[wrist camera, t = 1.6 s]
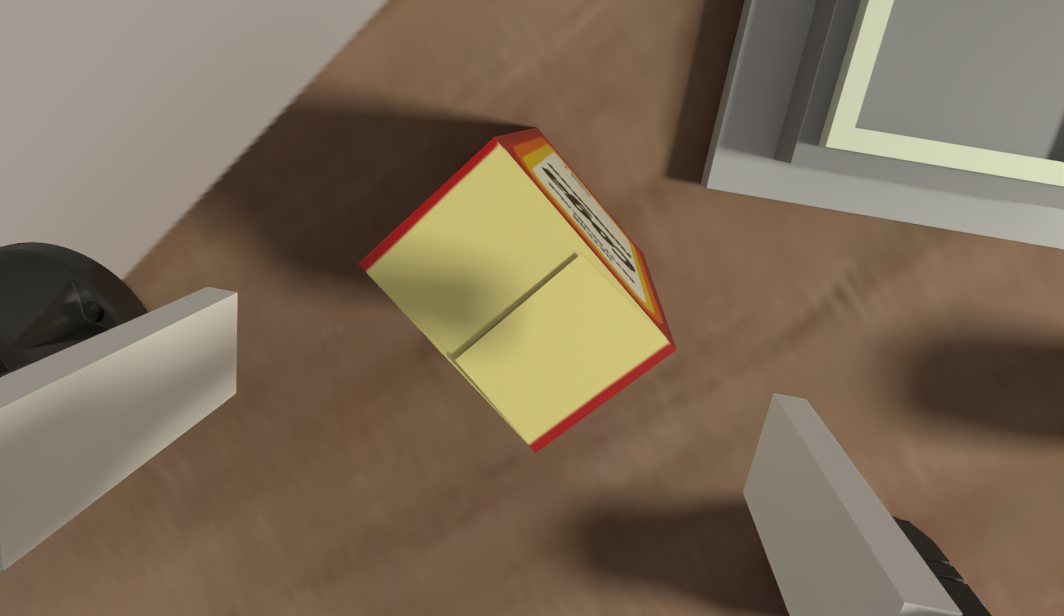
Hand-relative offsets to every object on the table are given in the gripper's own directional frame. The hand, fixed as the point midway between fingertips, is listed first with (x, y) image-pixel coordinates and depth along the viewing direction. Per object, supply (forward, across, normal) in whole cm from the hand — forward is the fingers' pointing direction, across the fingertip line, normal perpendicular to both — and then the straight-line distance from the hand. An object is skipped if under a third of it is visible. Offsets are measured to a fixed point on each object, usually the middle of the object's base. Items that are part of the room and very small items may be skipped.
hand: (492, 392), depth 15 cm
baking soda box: (+23, 0, 0) cm, 23 cm away
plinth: (+23, +18, +14) cm, 32 cm away
